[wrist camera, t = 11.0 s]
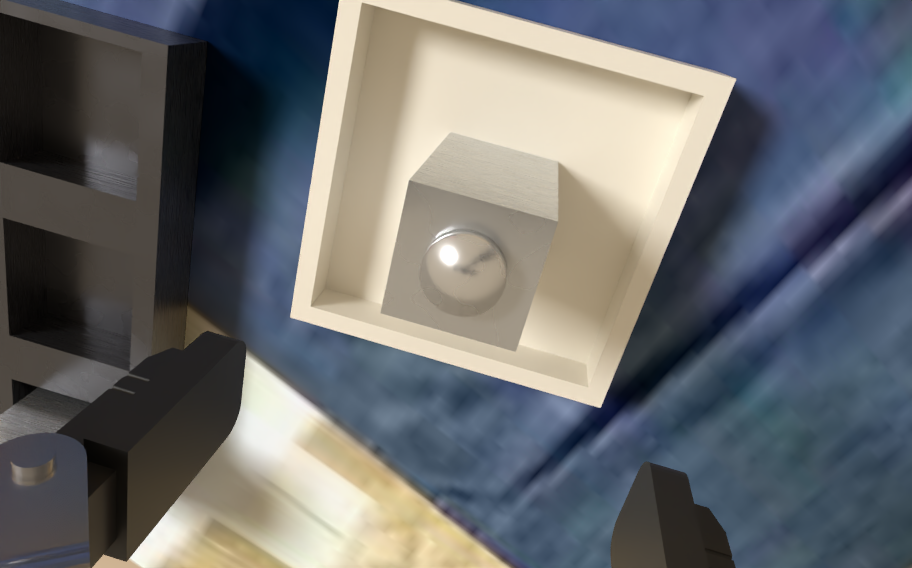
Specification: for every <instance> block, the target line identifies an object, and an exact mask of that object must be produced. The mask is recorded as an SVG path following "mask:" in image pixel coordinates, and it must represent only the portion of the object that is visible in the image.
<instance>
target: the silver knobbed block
mask: <svg viewBox="0 0 912 568" xmlns="http://www.w3.org/2000/svg"><path fill="white" fill-rule="evenodd" d="M557 224H558V161H554V160H551V159H547V158H543V157H540V156H536V155H532V154H529V153H525V152H521V151H518V150H514V149H511V148H507V147H503V146H500V145H496V144H492V143H489V142H485V141H481V140H478V139H474V138H470V137H467V136H463V135H459V134H456V133H452V132H450V133H449V134H448V135H447V137H446V138H445V139H444V140H443V141H442V142H441V144H440V145H439V146H438V147H437V148H436V149H435V150H434V152H433V153H432V154H431V155H430V156H429V157H428V159H427V160H426V161H425V162H424V163H423V164H422V166H421V167H420V168H419V169H418V170H417V171H416V173H415V174H414V175H413V176H412V177H411V178H410V180H409V182H408V187H407V191H406V196H405V201H404V205H403V210H402V215H401V219H400V224H399V229H398V233H397V238H396V242H395V247H394V252H393V256H392V261H391V266H390V270H389V275H388V280H387V284H386V289H385V294H384V298H383V303H382V307H381V312H380V313H381V314H385V315H388V316H392V317H395V318H399V319H402V320H406V321H409V322H413V323H416V324H420V325H423V326H427V327H430V328H434V329H437V330H441V331H444V332H448V333H451V334H455V335H458V336H462V337H465V338H469V339H472V340H476V341H479V342H483V343H486V344H490V345H493V346H497V347H500V348H504V349H507V350H511V351H514V352H516V350H517V347H518V344H519V341H520V338H521V335H522V332H523V329H524V326H525V322H526V319H527V316H528V313H529V310H530V307H531V304H532V301H533V298H534V295H535V292H536V289H537V286H538V282H539V279H540V276H541V273H542V270H543V267H544V264H545V261H546V258H547V255H548V252H549V249H550V245H551V242H552V239H553V236H554V233H555V230H556V227H557Z"/></svg>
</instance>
